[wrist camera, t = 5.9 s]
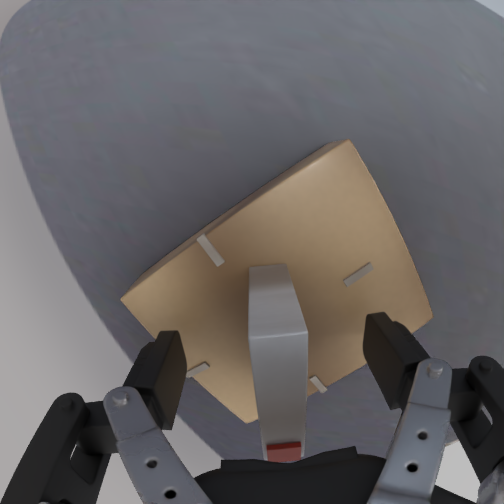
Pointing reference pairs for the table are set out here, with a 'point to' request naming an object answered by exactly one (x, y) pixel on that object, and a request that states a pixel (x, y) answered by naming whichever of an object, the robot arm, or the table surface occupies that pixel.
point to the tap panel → (300, 269)
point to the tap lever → (278, 361)
